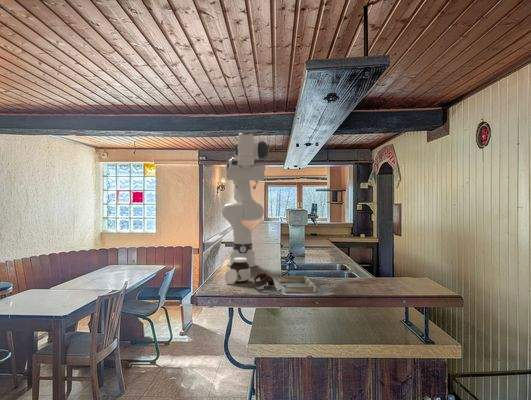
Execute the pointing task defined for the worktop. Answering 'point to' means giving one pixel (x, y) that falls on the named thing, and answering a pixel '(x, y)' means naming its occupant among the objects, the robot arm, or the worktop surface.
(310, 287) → the wooden u-shaped frame
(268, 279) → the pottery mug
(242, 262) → the spread jar
